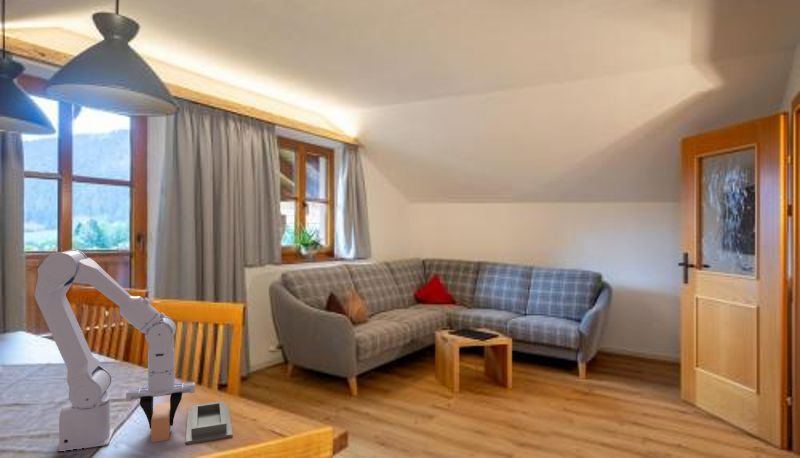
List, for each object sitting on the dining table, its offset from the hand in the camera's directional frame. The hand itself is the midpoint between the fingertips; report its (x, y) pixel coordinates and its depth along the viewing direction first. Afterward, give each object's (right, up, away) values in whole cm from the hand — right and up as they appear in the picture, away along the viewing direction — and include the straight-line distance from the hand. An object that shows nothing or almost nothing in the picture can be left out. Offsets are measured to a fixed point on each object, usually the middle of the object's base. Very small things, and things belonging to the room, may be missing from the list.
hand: (161, 425), depth 113 cm
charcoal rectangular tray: (+10, -1, +4) cm, 11 cm away
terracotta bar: (0, -1, 0) cm, 1 cm away
